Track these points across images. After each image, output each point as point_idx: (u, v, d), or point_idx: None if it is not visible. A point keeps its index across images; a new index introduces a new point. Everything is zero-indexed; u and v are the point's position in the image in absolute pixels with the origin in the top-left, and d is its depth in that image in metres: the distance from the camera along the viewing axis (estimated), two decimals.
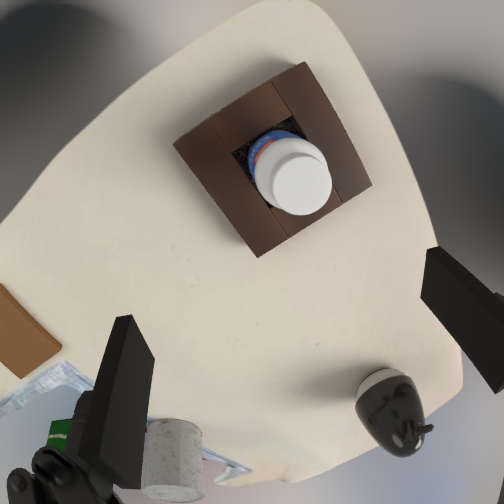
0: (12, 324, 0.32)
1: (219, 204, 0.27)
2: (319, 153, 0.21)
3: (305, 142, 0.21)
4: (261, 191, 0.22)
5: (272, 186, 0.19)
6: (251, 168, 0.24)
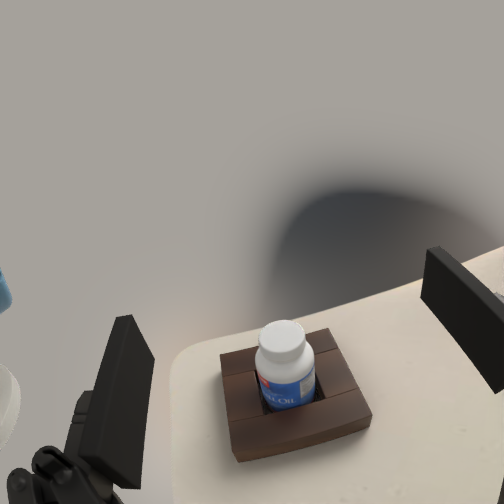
0: None
1: (305, 435, 0.24)
2: None
3: None
4: (286, 376, 0.25)
5: (273, 352, 0.25)
6: (277, 396, 0.27)
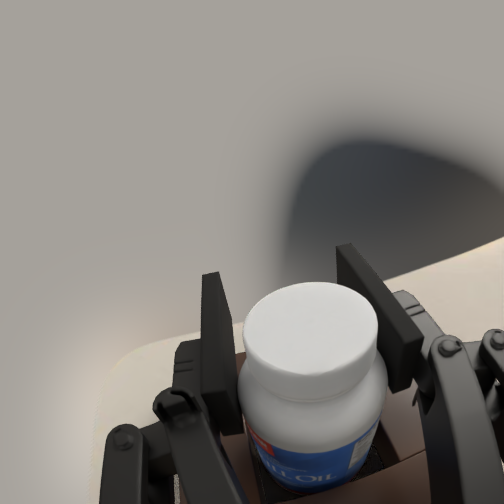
0: None
1: None
2: None
3: None
4: (325, 436, 0.08)
5: (288, 375, 0.07)
6: (294, 471, 0.09)
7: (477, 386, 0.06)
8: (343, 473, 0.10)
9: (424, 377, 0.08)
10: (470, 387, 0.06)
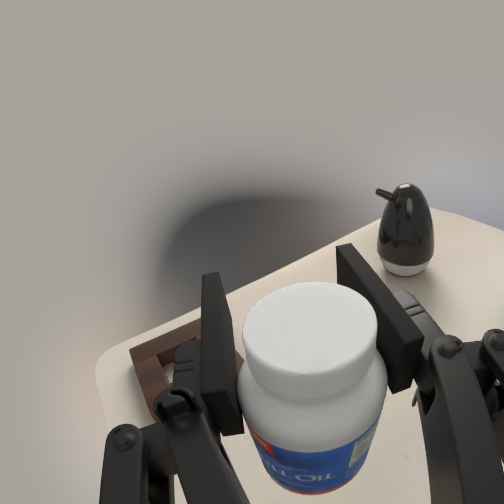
0: None
1: None
2: None
3: None
4: (324, 436, 0.08)
5: (288, 374, 0.07)
6: (294, 470, 0.09)
7: (477, 386, 0.06)
8: (343, 472, 0.10)
9: (424, 377, 0.08)
10: (470, 387, 0.06)
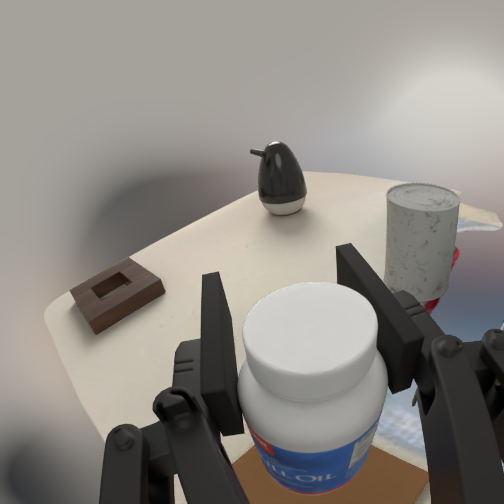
0: (270, 478, 0.20)
1: (125, 299, 0.43)
2: None
3: None
4: (325, 436, 0.08)
5: (288, 375, 0.07)
6: (294, 471, 0.09)
7: (477, 386, 0.06)
8: (343, 473, 0.10)
9: (424, 377, 0.08)
10: (470, 387, 0.06)
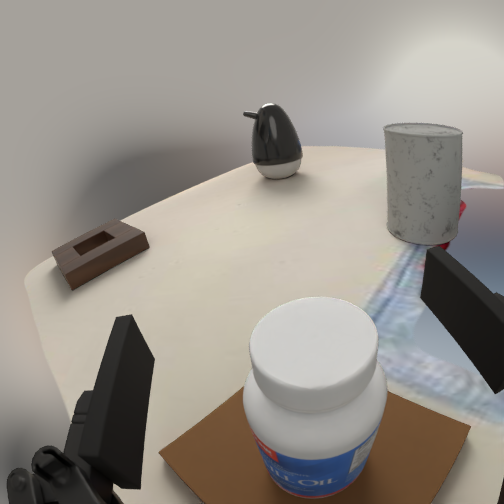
0: None
1: (105, 251, 0.39)
2: None
3: None
4: (327, 444, 0.08)
5: (293, 389, 0.08)
6: (297, 476, 0.10)
7: None
8: (344, 477, 0.10)
9: None
10: None
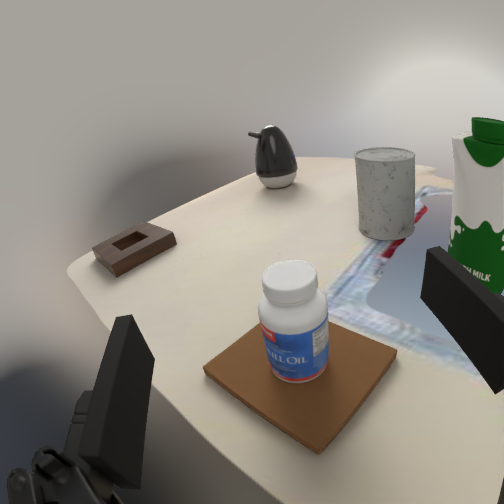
0: (262, 352, 0.29)
1: (143, 247, 0.53)
2: None
3: None
4: (296, 323, 0.21)
5: (280, 291, 0.21)
6: (285, 353, 0.23)
7: None
8: (311, 360, 0.23)
9: None
10: None
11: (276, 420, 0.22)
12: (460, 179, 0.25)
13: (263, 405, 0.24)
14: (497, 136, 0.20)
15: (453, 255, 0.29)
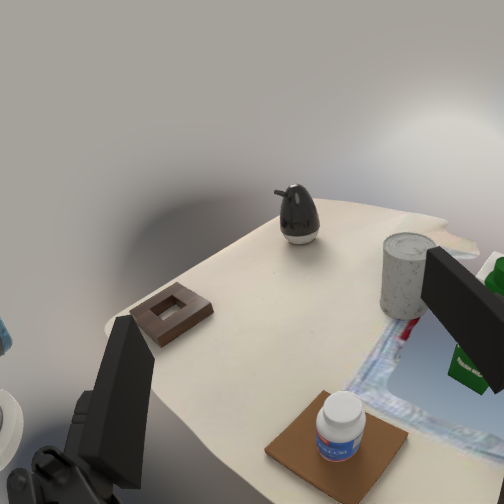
0: (309, 437, 0.34)
1: (184, 319, 0.58)
2: None
3: (321, 408, 0.30)
4: (346, 437, 0.27)
5: (338, 422, 0.26)
6: (334, 450, 0.28)
7: None
8: (350, 451, 0.29)
9: None
10: None
11: (324, 489, 0.27)
12: None
13: (314, 478, 0.29)
14: None
15: (459, 354, 0.34)
